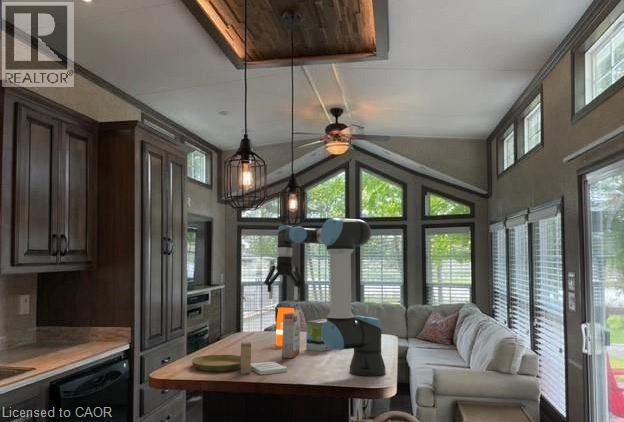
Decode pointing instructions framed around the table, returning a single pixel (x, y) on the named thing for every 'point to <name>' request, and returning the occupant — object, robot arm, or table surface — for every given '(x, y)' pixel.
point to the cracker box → (291, 334)
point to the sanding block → (245, 358)
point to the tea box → (315, 335)
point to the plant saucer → (217, 362)
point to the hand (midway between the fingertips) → (283, 299)
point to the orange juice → (281, 324)
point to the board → (268, 368)
